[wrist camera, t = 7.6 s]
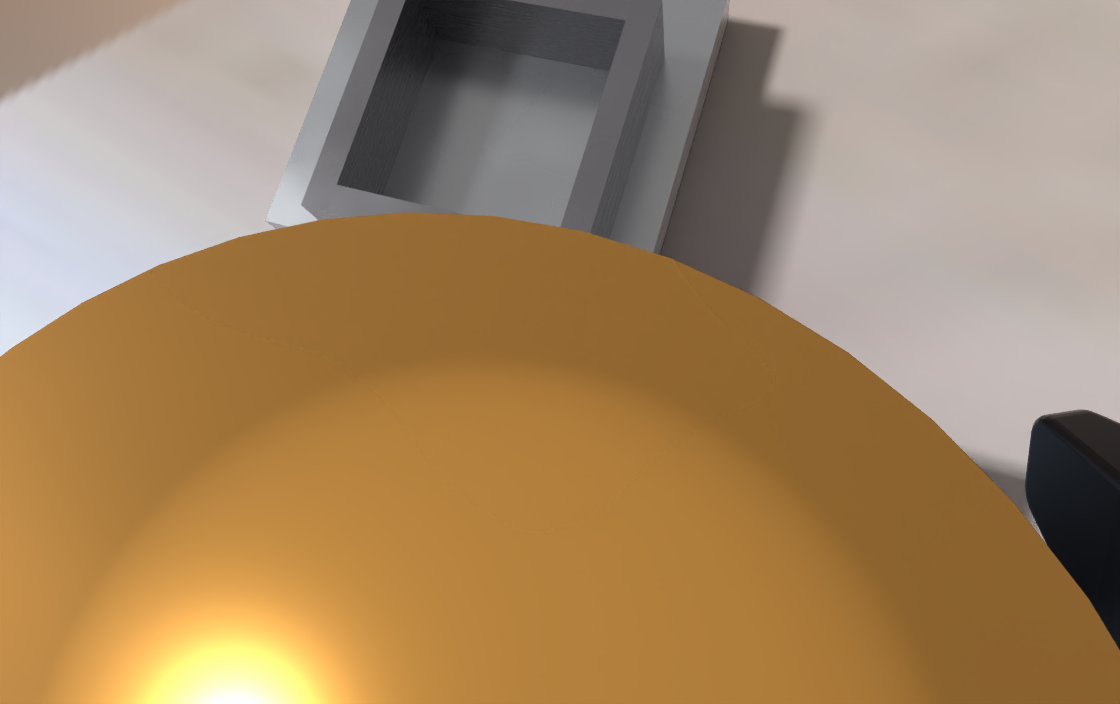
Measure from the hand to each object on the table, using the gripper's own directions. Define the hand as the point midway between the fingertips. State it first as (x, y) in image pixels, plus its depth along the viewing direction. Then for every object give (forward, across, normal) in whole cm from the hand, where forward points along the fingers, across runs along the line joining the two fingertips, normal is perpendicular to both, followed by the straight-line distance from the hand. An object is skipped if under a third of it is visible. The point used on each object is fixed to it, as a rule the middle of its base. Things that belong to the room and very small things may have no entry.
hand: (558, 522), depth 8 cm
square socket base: (+14, +1, 0) cm, 14 cm away
